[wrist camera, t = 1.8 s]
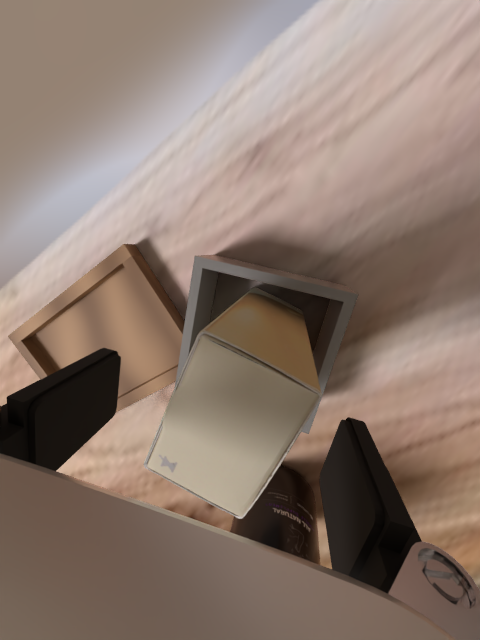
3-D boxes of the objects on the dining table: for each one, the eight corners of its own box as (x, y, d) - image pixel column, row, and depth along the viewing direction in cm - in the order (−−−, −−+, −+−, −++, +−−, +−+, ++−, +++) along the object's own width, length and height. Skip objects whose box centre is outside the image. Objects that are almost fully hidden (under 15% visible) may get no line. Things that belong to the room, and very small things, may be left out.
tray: (134, 244, 20) (123, 244, 19) (209, 359, 22) (203, 366, 20) (23, 331, 25) (7, 336, 23) (90, 421, 26) (79, 431, 25)
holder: (344, 284, 18) (358, 294, 14) (305, 400, 21) (308, 434, 17) (213, 254, 19) (194, 255, 15) (194, 367, 22) (174, 392, 18)
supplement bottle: (309, 461, 22) (328, 680, 11) (318, 521, 24) (343, 770, 12) (234, 461, 24) (182, 653, 13) (247, 518, 25) (211, 735, 14)
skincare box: (268, 375, 21) (240, 530, 9) (221, 351, 21) (136, 474, 10) (306, 306, 19) (331, 397, 7) (254, 281, 19) (196, 329, 8)
